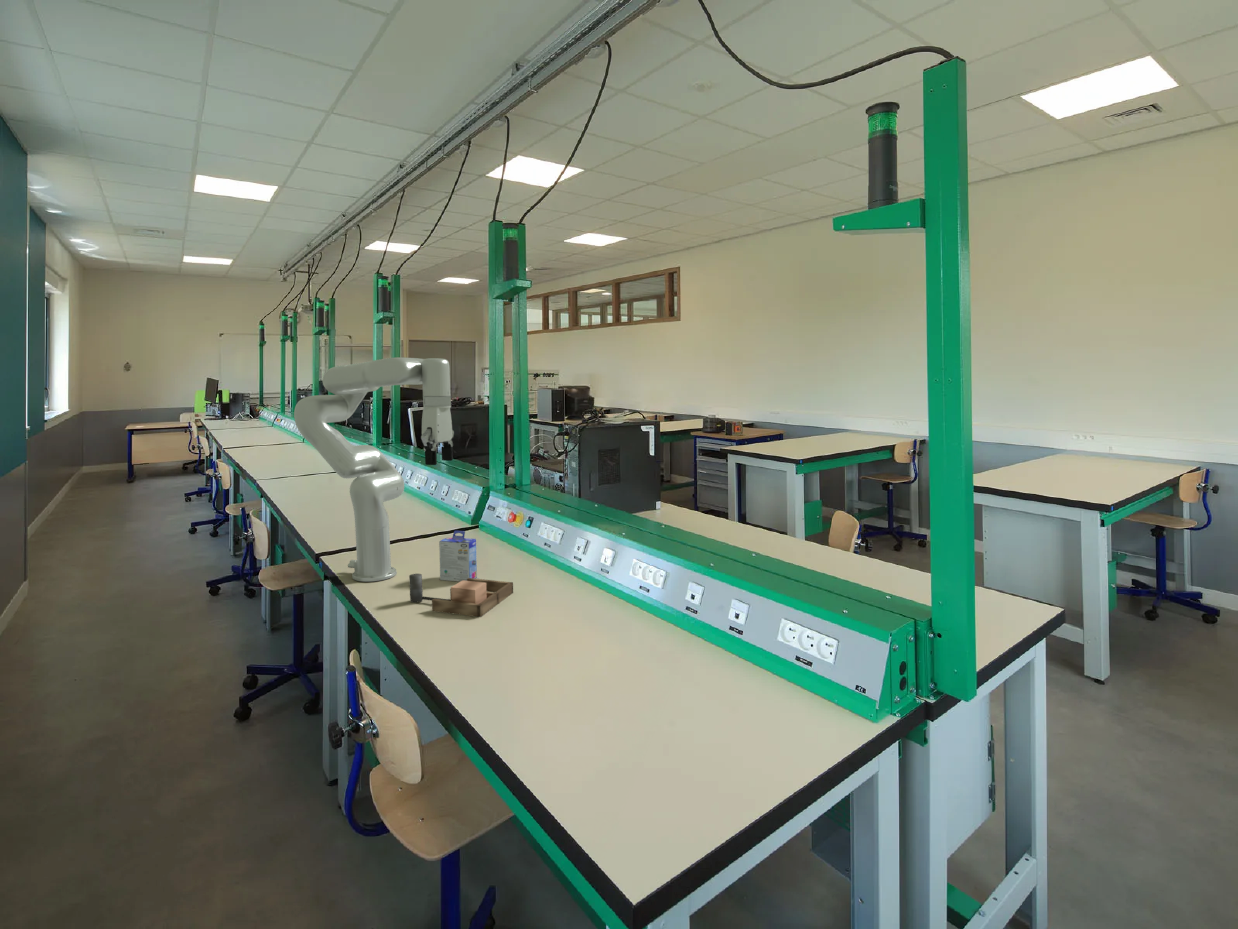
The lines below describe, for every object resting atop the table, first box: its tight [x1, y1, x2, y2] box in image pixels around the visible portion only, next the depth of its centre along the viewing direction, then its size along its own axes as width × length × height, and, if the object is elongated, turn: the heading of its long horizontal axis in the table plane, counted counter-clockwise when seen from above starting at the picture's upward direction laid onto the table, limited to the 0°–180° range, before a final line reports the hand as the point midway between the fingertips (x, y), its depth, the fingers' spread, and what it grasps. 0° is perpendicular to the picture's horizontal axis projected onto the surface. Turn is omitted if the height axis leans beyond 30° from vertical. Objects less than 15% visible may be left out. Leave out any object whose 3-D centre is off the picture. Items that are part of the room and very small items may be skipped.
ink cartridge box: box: [438, 530, 478, 582], centre depth 187 cm, size 10×6×14 cm, turn 79°
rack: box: [431, 578, 514, 618], centre depth 169 cm, size 14×19×3 cm
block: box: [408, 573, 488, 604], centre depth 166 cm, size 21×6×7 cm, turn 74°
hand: (439, 462), depth 178 cm, fingers open, 9 cm apart
